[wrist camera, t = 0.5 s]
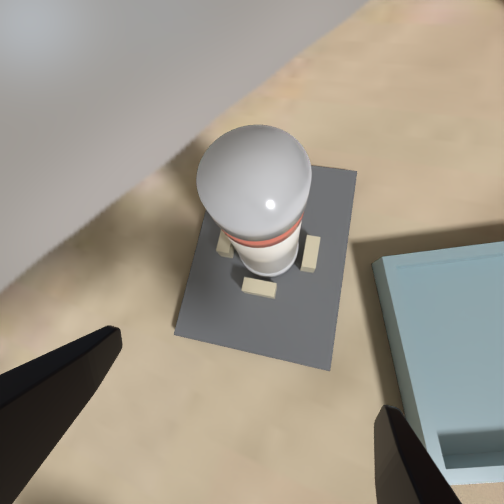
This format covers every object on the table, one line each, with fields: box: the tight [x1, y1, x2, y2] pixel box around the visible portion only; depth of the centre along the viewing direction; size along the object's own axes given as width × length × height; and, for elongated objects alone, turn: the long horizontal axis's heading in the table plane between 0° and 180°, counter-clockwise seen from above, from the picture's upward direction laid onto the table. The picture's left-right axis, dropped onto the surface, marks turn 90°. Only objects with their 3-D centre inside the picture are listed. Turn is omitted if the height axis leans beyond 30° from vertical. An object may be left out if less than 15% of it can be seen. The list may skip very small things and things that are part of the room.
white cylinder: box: [196, 125, 312, 278], centre depth 17 cm, size 5×5×12 cm
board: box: [174, 166, 357, 371], centre depth 22 cm, size 16×12×3 cm
